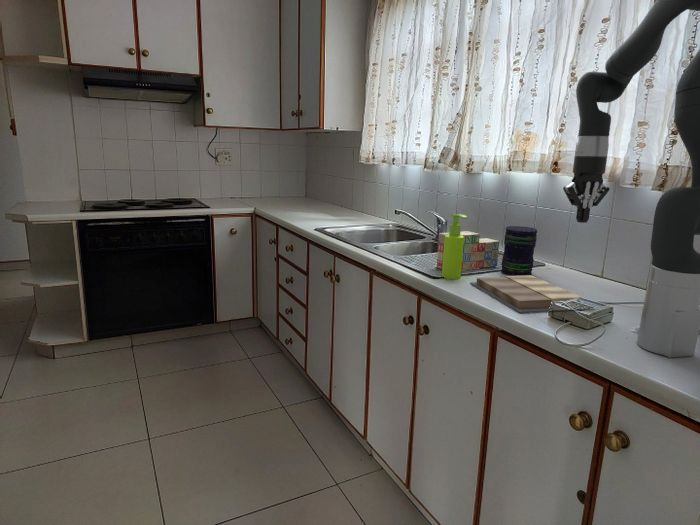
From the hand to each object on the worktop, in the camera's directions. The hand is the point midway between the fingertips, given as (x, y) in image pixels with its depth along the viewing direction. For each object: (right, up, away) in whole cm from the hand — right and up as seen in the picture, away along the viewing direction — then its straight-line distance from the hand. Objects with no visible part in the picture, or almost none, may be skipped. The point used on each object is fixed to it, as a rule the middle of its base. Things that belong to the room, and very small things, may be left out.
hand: (582, 222), depth 124 cm
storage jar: (-6, -14, +32) cm, 35 cm away
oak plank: (-8, -19, +8) cm, 22 cm away
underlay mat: (-12, -20, +7) cm, 24 cm away
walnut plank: (-17, -20, +6) cm, 27 cm away
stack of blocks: (-21, -13, +37) cm, 45 cm away
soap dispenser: (-29, -15, +24) cm, 41 cm away
